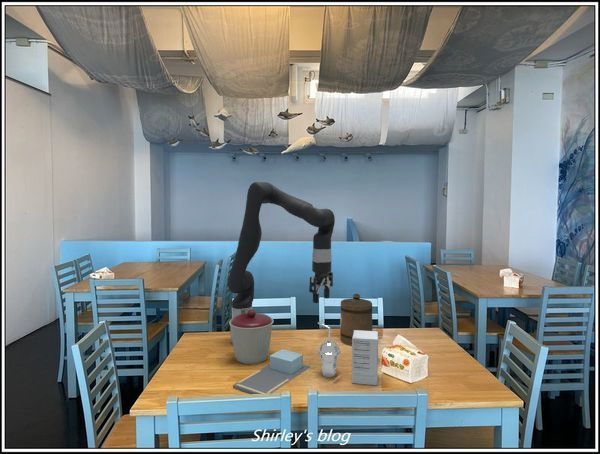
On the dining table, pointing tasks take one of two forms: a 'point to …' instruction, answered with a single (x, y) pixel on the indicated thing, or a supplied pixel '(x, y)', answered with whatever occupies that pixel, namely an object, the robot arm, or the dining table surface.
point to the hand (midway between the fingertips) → (321, 300)
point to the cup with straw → (328, 356)
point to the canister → (251, 337)
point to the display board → (266, 380)
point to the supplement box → (365, 357)
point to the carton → (286, 361)
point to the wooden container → (354, 317)
